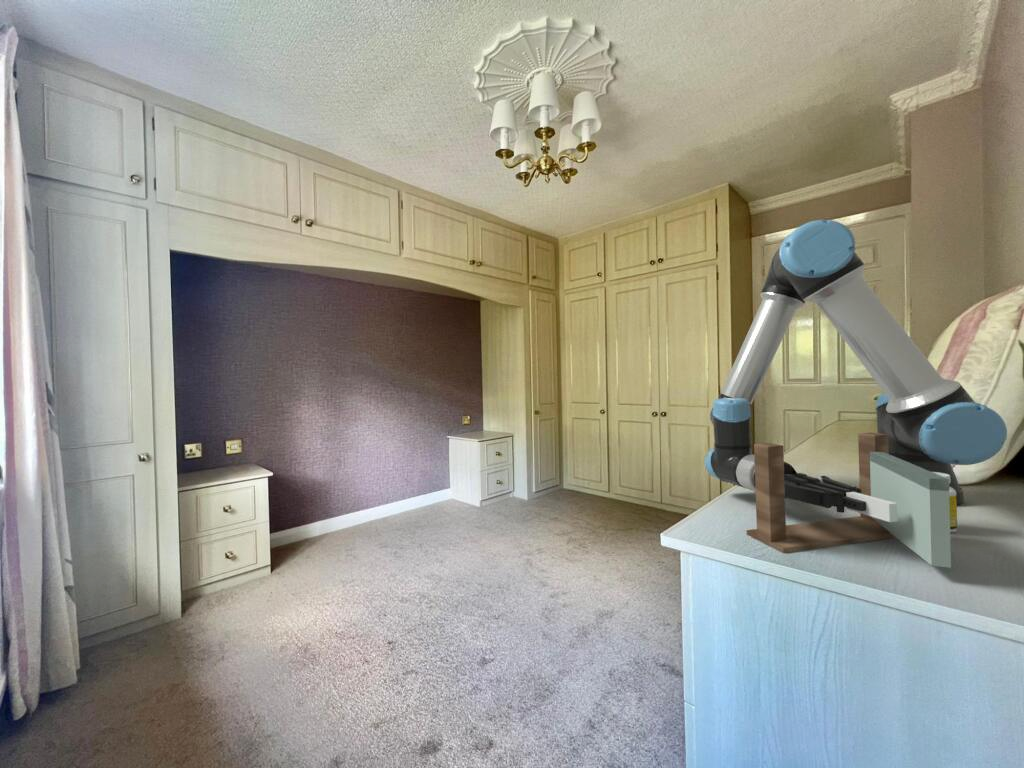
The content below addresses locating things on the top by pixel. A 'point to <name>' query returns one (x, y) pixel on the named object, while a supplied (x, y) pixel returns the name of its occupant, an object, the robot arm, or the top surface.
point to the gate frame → (812, 533)
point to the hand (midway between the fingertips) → (893, 512)
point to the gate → (914, 506)
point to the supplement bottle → (951, 504)
